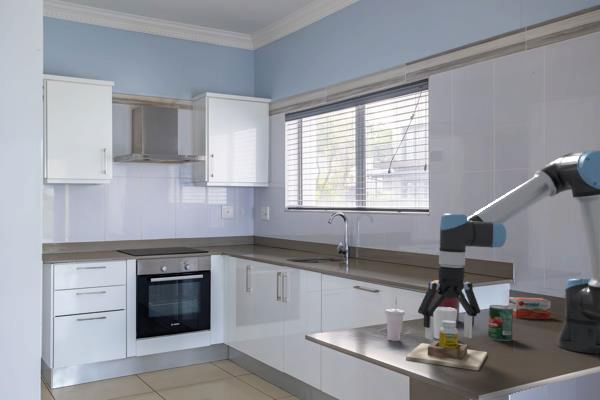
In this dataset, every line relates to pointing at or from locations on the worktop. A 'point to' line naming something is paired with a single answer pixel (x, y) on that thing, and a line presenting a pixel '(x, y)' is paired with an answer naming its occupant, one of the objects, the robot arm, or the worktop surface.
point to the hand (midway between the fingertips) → (448, 338)
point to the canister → (448, 302)
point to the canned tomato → (500, 322)
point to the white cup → (442, 318)
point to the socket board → (448, 356)
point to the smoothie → (394, 322)
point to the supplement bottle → (448, 335)
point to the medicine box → (530, 308)
